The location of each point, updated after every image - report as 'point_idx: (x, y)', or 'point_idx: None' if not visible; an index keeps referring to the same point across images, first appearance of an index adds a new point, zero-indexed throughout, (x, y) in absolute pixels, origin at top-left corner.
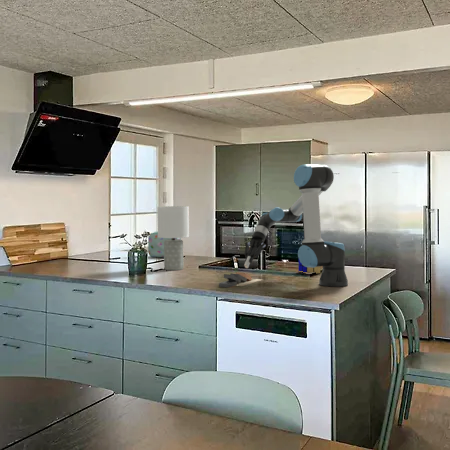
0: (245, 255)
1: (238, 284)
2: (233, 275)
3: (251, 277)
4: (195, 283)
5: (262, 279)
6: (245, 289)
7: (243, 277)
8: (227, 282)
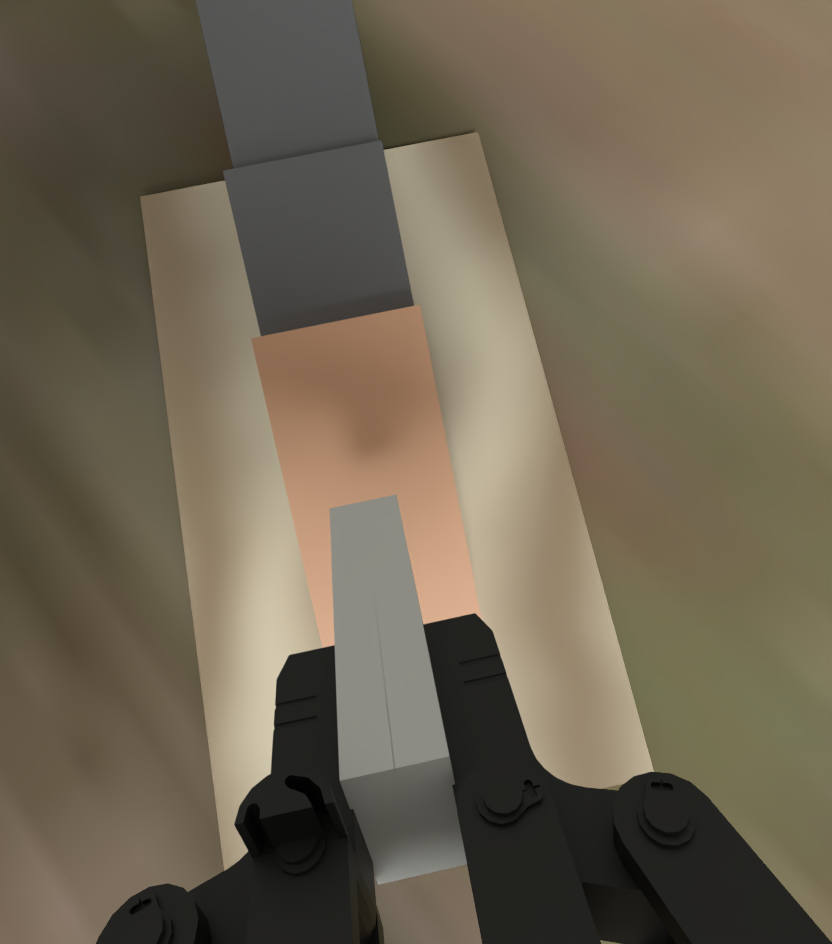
0: (634, 802)
1: None
2: (205, 38)
3: (322, 643)
4: (794, 44)
5: None
6: (24, 134)
7: None
8: None
